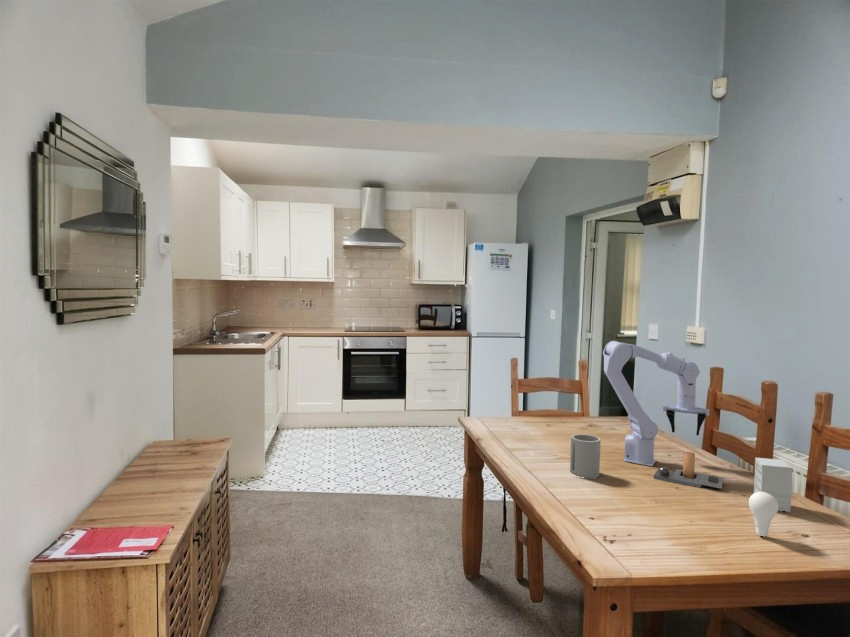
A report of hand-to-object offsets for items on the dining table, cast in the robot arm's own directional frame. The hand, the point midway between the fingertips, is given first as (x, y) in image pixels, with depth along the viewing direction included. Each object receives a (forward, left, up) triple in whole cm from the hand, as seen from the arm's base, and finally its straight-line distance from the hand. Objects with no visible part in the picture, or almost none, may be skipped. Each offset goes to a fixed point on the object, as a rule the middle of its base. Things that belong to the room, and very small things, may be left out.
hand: (685, 433), depth 184 cm
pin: (+4, -20, -10) cm, 23 cm away
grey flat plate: (+4, -20, -10) cm, 23 cm away
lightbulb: (+24, -52, -11) cm, 58 cm away
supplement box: (+26, -28, -11) cm, 40 cm away
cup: (-25, -33, -11) cm, 43 cm away
